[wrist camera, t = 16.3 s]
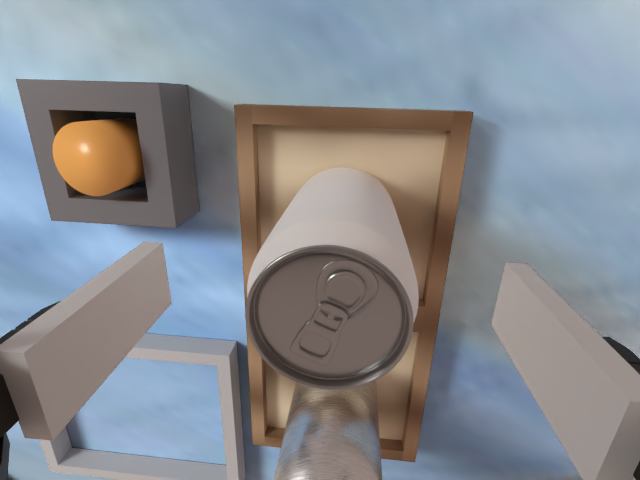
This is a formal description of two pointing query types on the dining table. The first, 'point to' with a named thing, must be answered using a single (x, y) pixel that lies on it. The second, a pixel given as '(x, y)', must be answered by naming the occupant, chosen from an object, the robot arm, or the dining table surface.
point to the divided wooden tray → (412, 210)
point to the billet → (331, 435)
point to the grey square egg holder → (155, 141)
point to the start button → (99, 155)
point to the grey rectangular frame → (160, 473)
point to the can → (334, 285)
